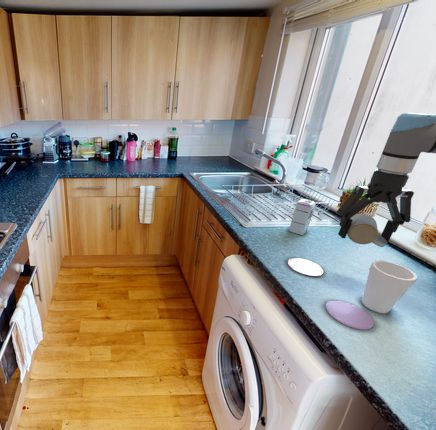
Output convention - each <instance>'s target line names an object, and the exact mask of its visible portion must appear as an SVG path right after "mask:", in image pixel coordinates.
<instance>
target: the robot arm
mask: <svg viewBox="0 0 436 430" xmlns="http://www.w3.org/2000/svg"><path fill="white" fill-rule="evenodd" d="M421 153H426V154H436V114H431V113H419V112H403V113H401V114H399V115H398V116H397V118H396V119H395V121H394V124H393V126H392V128H391V129H390V132H389V134H388V137H387V139H386V142H385V145H384V146H383V150H382V152H381V154H380V156H379V159H378V162H377V164H376V169H375V170H374V171H373V173H372V175H371V177H370V182H369V185H367V186H361V185H359V184H357V185H355V187H354V189H353V192H352V193H351V194H350V196H348V198H347V199H345V201H344V202H343V203H342V204H341V206H340V207H339V208H338V209H337V210H336V214H338V215H339V216H340V217H341V219H340V221H339V224H338V225H339V227H340V228H339V231H338V232H337V235H338V236H339V237H340V238H341V239H346V238H347V236H348V235H347V233H348V230H349V228H350V225H351V223H352V221H353V220H352V219H351V217H353V216H354V215H355V214H359V213H360V212H361V211H362V210H364V209H365V208H366V207H368V206H369V205H371V204H373V203H383V204H386V205H387V206H386V207H387V209H388V212H389V214H390V217H391V219H388V220H387V221H386V223H385V226H384V228H383V230H382V232H381V234H380V235H381V236H382V237H383V238H384V239H385V240H386V241H387V244H389V242H390V239H391V238H392V236H393V234H394V233H396V232H397V231H398V228H399V227H400V226H402V225H404V224H405V223H410V222H411V215H412V198H413V196H414V195H415V192H414V191H413V190H411V189H408V188H405V186H406V184H407V182H408V180H409V179H410V174H411V173H412V172H413V170H414V168H415V166H416V164H417V161H418V159H419V157H420V155H421ZM399 196H400V197H399ZM398 197H399V207H398V201H397V198H398Z"/></svg>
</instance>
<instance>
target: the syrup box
mask: <svg viewBox="0 0 436 430" xmlns="http://www.w3.org/2000/svg"><path fill="white" fill-rule="evenodd" d="M316 202H317V201H314V200H311V199H307V198H301V199H299V200H298V201H296V204H295V208H294V211H293V215H292V218H291V220H290V225H289V228H288V231H289V232H291V233H294V234H297V235H300V236H303V235H304V234H306V233H307V232H308V229H309V226H310V223H311V219H312V217H313V213H314V210H315V207H316V204H317V203H316Z"/></svg>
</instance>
